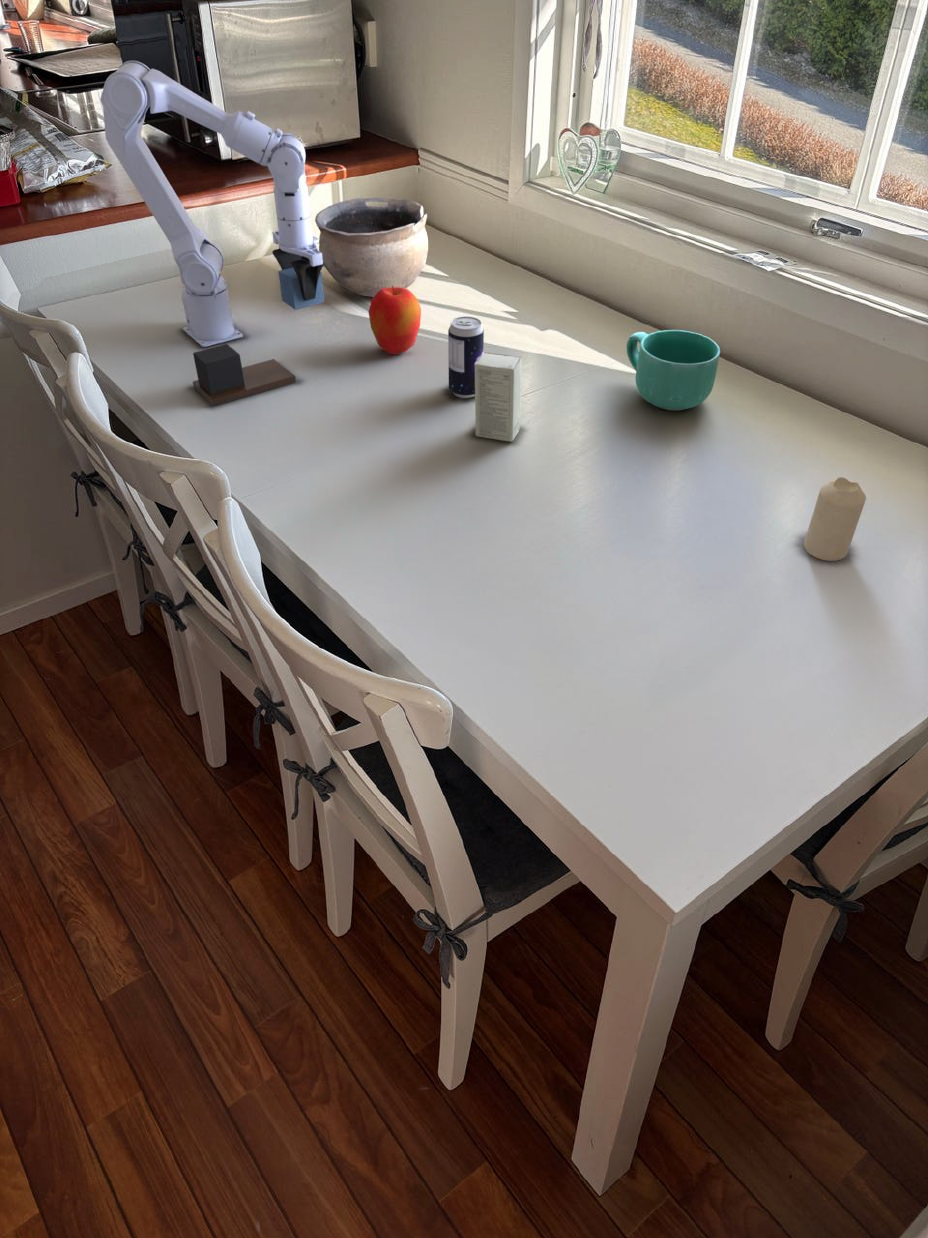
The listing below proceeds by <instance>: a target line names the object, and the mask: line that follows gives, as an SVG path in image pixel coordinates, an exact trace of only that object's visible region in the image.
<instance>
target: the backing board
mask: <svg viewBox="0 0 928 1238" xmlns="http://www.w3.org/2000/svg"><path fill="white" fill-rule="evenodd" d="M242 371H243V377H244V383H245V386H242V387H238V388H235V389H231V390H228V391H224V392H221V393H217V394H214V395H211V394H210V393H208V392H207V391H206V390H205V389H204V388H203V387H202V386H201V385H200V384H199V381H198V379H197V380H193V381H192V385H193V389H195V390H196V391H197V393H199V394H200V395H201V396H202V397H203V398H204V399H205V400H207V402H208V403H209V404H211V406H212V407H216V406H220V405H224V404H227V403H230V402H235V401H237V400H241V399H243V398H247V397H251V396H255V395H256V394H261V393H265V392H267V391H271V390H274V389H279V388H281V387H284V386H287V385H291V384H294V383H296V382H297V381H296V375H295V374H294V373H292V372H291V371H290V370H288V369H287V368H286V367H285V366H284V365H282V364H281V363H280V362H278V360H276V359H275V358H271V359H269V360H265V361H261V362H258V363H253V364H250V365H247V366H244V367H243V366H242Z"/></svg>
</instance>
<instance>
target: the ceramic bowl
mask: <svg viewBox="0 0 928 1238" xmlns="http://www.w3.org/2000/svg"><path fill="white" fill-rule="evenodd" d="M427 219H428V213H424V206H423V205H422V204H420V203H419V202H416V201H413V200H409V199H397V198H383V197H365V198H363V197H359V198H358V197H357V198H352V199H347V200H343V201H339V202H336V203H334V204H332V205H328V206H327V207H325V208H324V209H322V210H320V211H319V212H318V213H316V215H315V218H314V222H315V224H316V227H317V228H318V230H319V238H318V239H319V243H318V250H319V251H320V252H321V253H322V259H323V260H324V266H323V267H324V268H325V270H326V271H327V273H328V274H329V275H330V276H331V278H332V279H333V280H334V281H335V282H337V283H338V284H339V285H341V286H342V287H343V288H344V289H346V290H347V291H348V292H351V293H353V294H355V295H358V296H362V297H371V298H373V297H374V296H375V294H376V293H377V292H378V291H379V290H380V289H383V288H392V286H393V287H401V288H406V289H408V288H409V287H411V285H412V284H413V283H414V282H415V281H416V280H417V278H418V277H419V275H420V274H421V272H422V271H423V268H424V267H425V265H426V262H427V257H428V251H429V238H428V233H427V230H426V223H427Z"/></svg>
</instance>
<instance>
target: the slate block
mask: <svg viewBox="0 0 928 1238" xmlns="http://www.w3.org/2000/svg"><path fill="white" fill-rule="evenodd" d="M277 273H278V280H279V287H280V288H279V289H280V296H281V301H282V302H283V303H284V304H286V305H287V306H289V307H290V308H292V309H293V310H300V309H304V308H307V307H312V306H315V305H319V304H322V303H323V304H324V303H325V295H324V286H323V275H322V271H321V272H320V275H319V279H318V284H317V290H316V297H315V299H311V300H307V301H305V300H304V299H303V296H302V293H301V289H300V284H299V280H298V277H297V275H296V272H295V270H294V268H289V269H284V270H282V269H280V270H278V272H277Z"/></svg>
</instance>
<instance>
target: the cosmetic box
mask: <svg viewBox="0 0 928 1238" xmlns="http://www.w3.org/2000/svg"><path fill="white" fill-rule="evenodd" d="M521 387H522V357H521V356H516V355H508V354H502V353H493V352H485V351H483V353H482V355H481V356H480V357H479V359H478V360H477V361H476V362H475V396H474V403H475V405H474V407H475V408H474V410H475V412H474V413H475V419H474V420H475V436H476V437H479V438H485V439H492V440H496V441H497V440H498V441H504V442H511V443H512V442H514V440H515V438H516V437H517V435H518V434H519V431H520V430H521V401H522V399H521V398H522V397H521V396H522V393H521V392H522V388H521Z"/></svg>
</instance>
